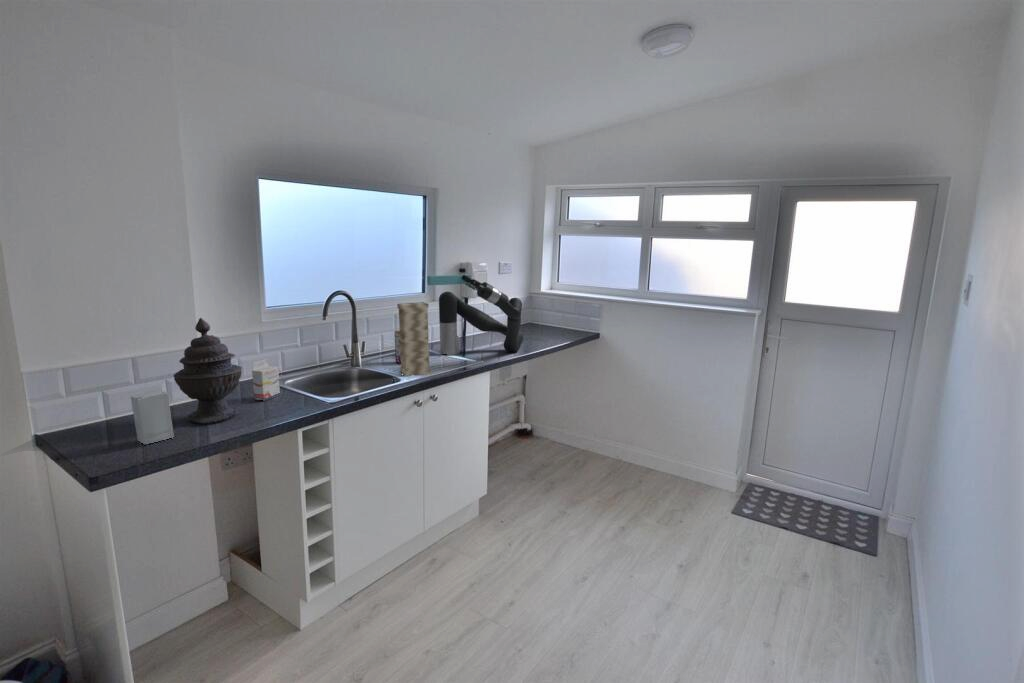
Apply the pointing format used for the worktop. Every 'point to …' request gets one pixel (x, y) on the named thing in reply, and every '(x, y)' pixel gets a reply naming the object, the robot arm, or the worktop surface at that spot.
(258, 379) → the ink cartridge box
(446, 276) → the rod
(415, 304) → the beige zigzag patterned block
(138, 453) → the worktop surface
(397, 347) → the candy bar box
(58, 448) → the worktop surface
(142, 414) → the skincare box
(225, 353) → the decorative urn
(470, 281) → the robot arm
